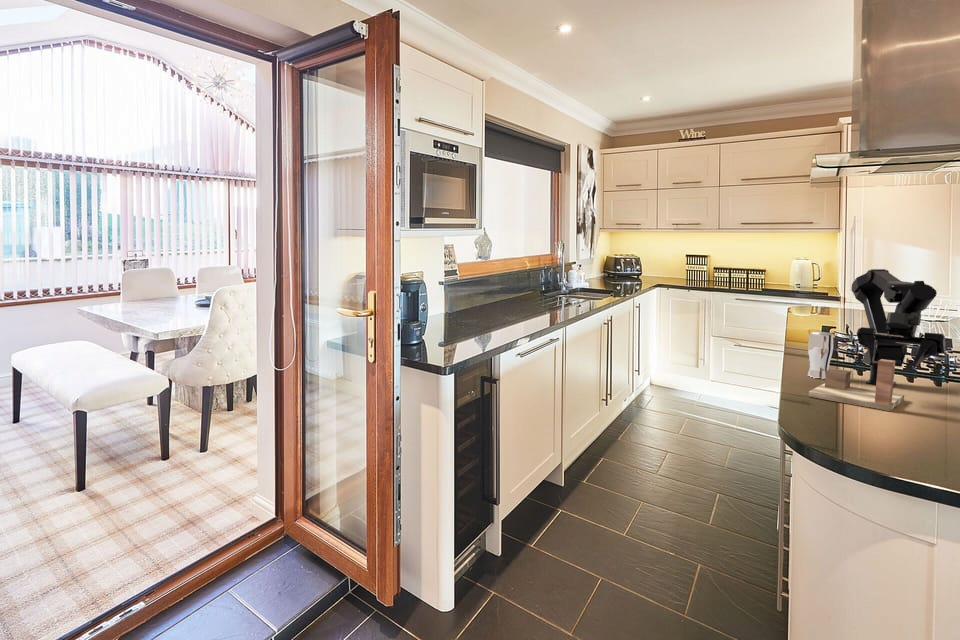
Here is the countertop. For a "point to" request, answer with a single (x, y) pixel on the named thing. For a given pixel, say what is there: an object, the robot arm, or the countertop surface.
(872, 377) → the robot arm
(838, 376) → the walnut cube
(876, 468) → the countertop surface
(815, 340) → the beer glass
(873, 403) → the board with upright post
